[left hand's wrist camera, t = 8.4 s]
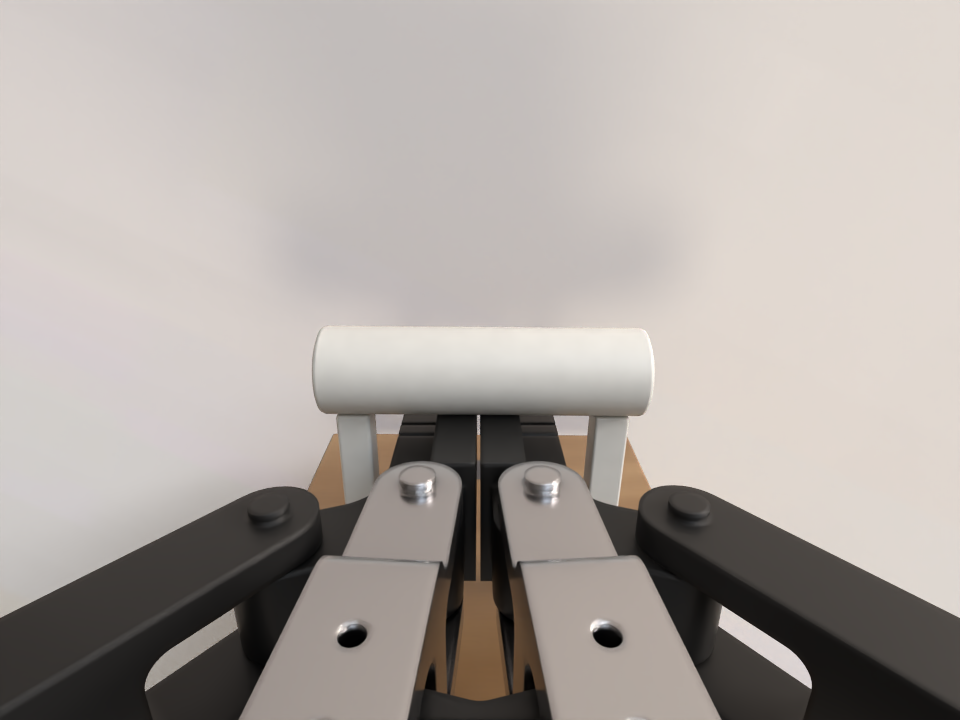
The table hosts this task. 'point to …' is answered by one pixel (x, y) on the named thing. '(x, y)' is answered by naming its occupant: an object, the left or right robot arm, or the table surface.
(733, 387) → the table surface
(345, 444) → the drawer
